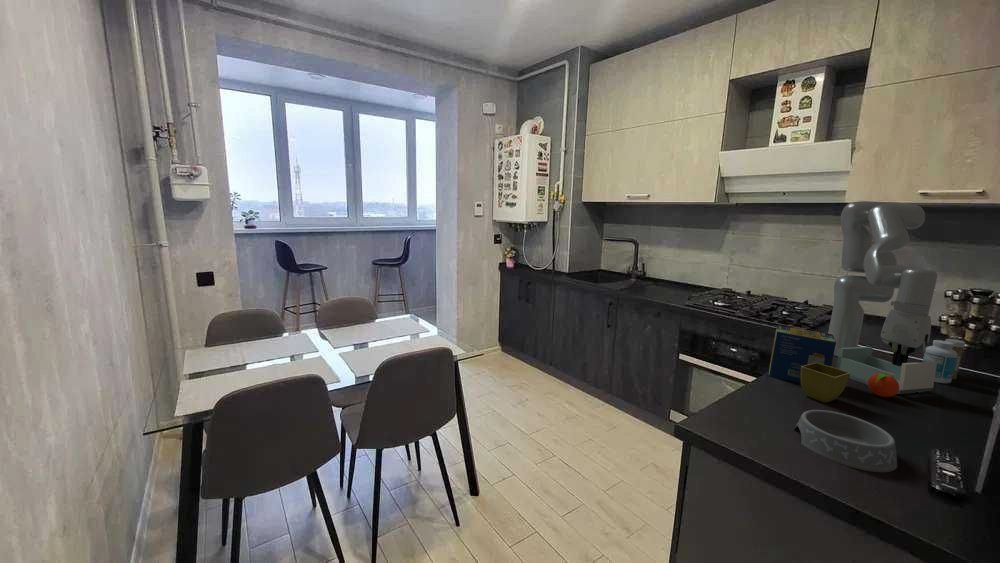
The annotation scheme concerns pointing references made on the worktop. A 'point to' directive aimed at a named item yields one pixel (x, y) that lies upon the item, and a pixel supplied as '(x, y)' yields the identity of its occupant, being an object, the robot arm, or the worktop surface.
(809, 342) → the protein box
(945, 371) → the pill bottle
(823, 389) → the flower pot
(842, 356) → the grey-green open bin
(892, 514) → the worktop surface
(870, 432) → the dog bowl
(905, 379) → the panel
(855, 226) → the robot arm
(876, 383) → the clementine
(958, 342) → the sprinkles bottle
